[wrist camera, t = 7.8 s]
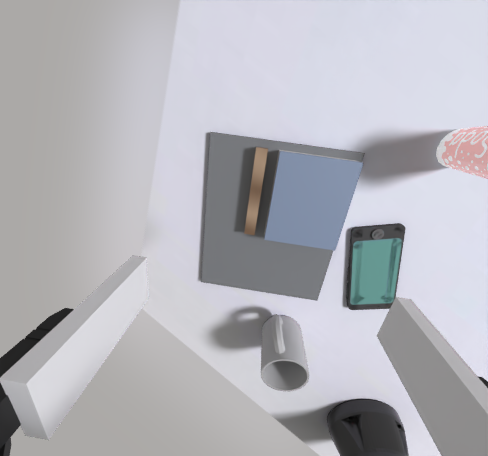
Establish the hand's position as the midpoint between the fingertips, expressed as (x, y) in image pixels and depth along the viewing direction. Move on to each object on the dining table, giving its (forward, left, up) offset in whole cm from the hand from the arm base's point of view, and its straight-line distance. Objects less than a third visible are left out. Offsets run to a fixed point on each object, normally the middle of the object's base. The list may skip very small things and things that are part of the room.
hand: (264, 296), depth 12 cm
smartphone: (-10, -18, -23) cm, 31 cm away
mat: (-5, -2, -22) cm, 23 cm away
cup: (-24, -7, -23) cm, 34 cm away
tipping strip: (0, +1, -22) cm, 22 cm away
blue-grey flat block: (0, -1, -21) cm, 21 cm away
